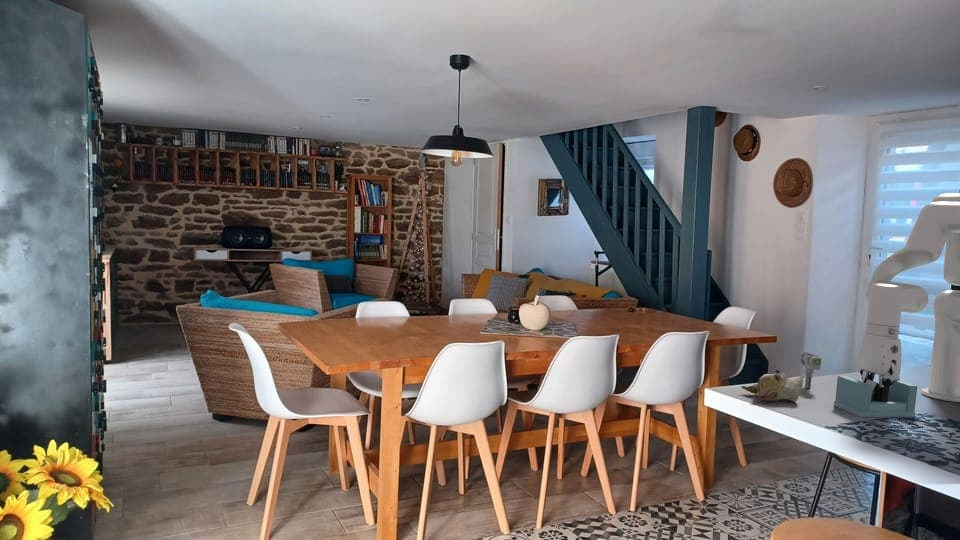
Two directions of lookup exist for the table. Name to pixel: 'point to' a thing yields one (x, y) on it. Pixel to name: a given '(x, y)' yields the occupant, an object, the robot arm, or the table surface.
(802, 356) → the mechanical component
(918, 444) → the table surface
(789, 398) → the ceramic sculpture
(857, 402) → the teal open frame
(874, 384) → the brushed grey metal block
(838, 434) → the table surface
